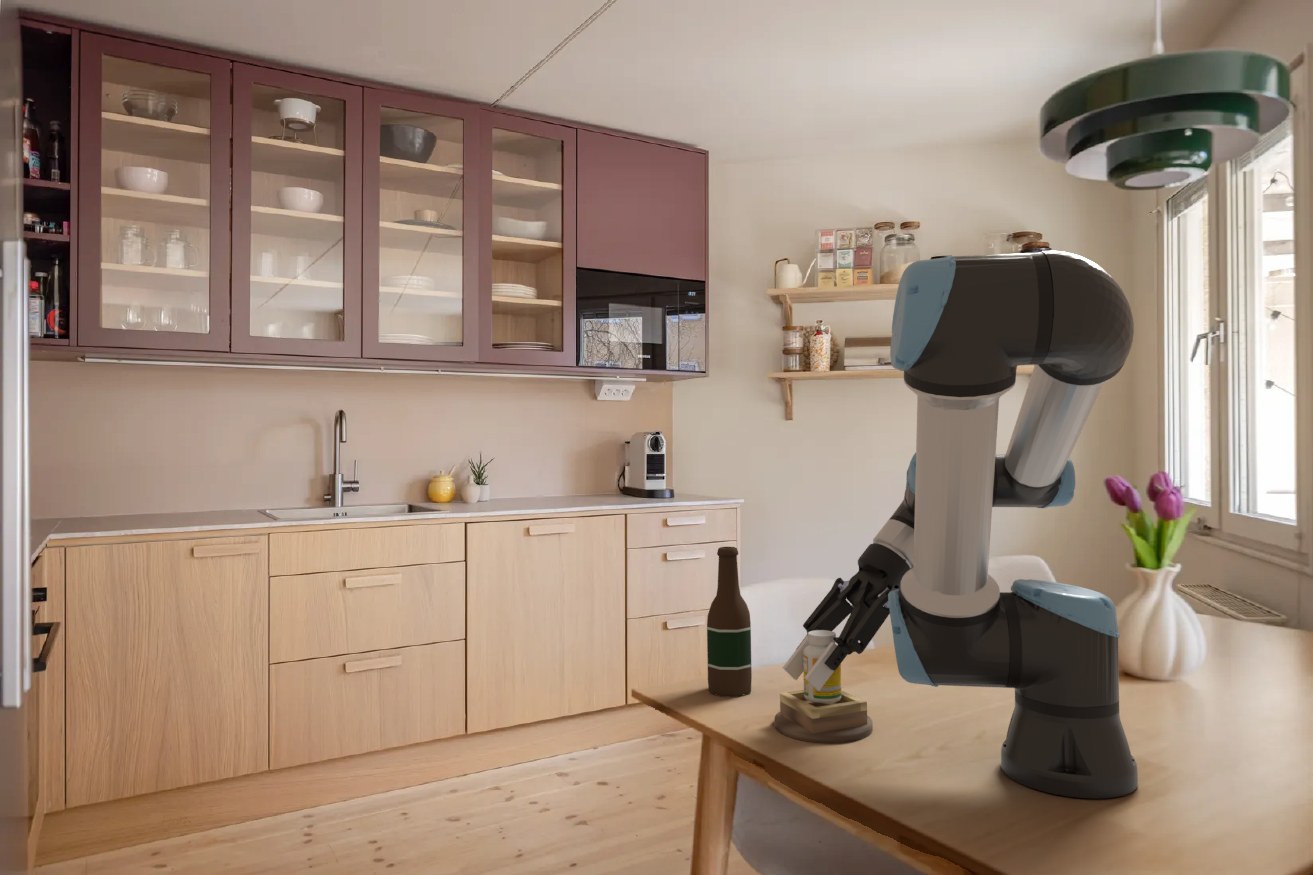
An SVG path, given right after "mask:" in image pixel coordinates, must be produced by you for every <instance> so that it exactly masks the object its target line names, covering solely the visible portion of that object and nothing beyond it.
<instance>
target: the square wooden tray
mask: <svg viewBox="0 0 1313 875" xmlns="http://www.w3.org/2000/svg"><path fill="white" fill-rule="evenodd" d="M779 706H780V707H779V712H777V713H775V715H774V728H775V729H776V731H777V732H779V733H780V734H782V735H783V736H786V737H788V738H792V739H795V740H799V741H804V742H809V743H817V744H819V743H820V744H840V743H841V744H843V743H849V742H857V741H858V740H861V739H864V738H865V739H866V738H867V737H869V736H870V735H871V734H872V733H873V728H874V726H873V719H872V718H871V717H870V716H869V715H868V701H866V700H864V699H861V698H859V697H858V696H857V697H856V695H853V694H850V693H848V692H846V691H843V690H842V689H841V699H840V700H839V701H837V702H835V703H815V702H810V701H808V700H807V699H805V697H804V689H802V690H794V691H793V690H792V691H787V692H780V693H779Z"/></svg>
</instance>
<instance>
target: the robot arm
mask: <svg viewBox="0 0 1313 875" xmlns="http://www.w3.org/2000/svg"><path fill="white" fill-rule="evenodd" d="M1126 296H1127V295H1126V294H1125V293H1124V291H1123V289H1122V288H1121V286H1120V285H1119V283H1118V282H1117V281H1116V280H1115V279H1114V278H1113V276H1112V275H1111V274H1109V273H1108V272H1107V271H1106V270H1105V269H1103V268H1102V266H1100V265H1099V264H1097V263H1095V262H1094V261H1092V260H1090V259H1088V258H1086V257H1083V256H1081V255H1078V254H1076V253H1075V254H1074V253H1071V252H1066V251H1059V250H1042V251H1041V250H1040V251H1038V252H1024V253H1022V252H1021V253H1020V252H1019V253H999V254H978V255H975V254H974V255H956V256H953V255H952V254H951V255H947V256H945V257H940V258H939V257H938V258H932V259H922V260H915V261H913V262H912V263H910V264H909V265H908V266H906V268H905V269H904V270H903V272H902V274H901V277H900V279H899V283H898V286H897V291H896V296H895V303H894V306H893V307H894V308H893V314H892V324H891V338H890V348H889V349H890V353H889V355H890V364H891V366H892V368H894V369H896V370H898V371H901V372H903V383H904V385H905V386H906V387H907V388H908V389H909V390H910V391H912V393H914V394H915V395H916V396H917V398H916V400H917V404H916V405H917V407H916V410H917V411H916V446H915V447H916V448H915V453H914V454H913V455H912V458H911V460H910V462H909V466H908V469H907V470H906V485H905V489H904V490H905V491H904V495H903V496H904V497H903V500H902V501H901V503H900V504H899V506H898V507H897V508H896V510H895V511H894V513H893V514H892V515H891V516H890V518H889V519H888V520H887V521H886V522H885V524H884V525H883V526H882V527H881V529H880V530H879V531H878V532H877V534H876V535H875V537H873V539H872V543H869V545H868V546H867V547H866V549H865V550H864V551H863V552H862V554H861V555H860V556H859V557H858V558H857V565H858V572H856V573H855V574H854V575H852V577H850V579H848V580H843V578H842V577H837V579H835V581H834V583H833V584H832V587H831V589H830V590H829V591H828V593H826V595H825V597H824V598H823V599H822V600H821V601H820V603H819V604H818V605H817V606H816V607H815V609H814V610H813V611H812V612H811V614H810V615H809V617H808V618H807V619H806V620H805V622H804V623H803V625H802V627H803V629H804V630H805V631H806V633H807V634H806V635H805V637H804V638H803V639H802V641H801V642H800V643H799V645H798V646H797V647H796V649H795V651H794V652H793V653H792V655H791V656H790V657H789V658H788V660H787V661H786V662H785V664H784V665H782V669H783V670H784V671H785V672H786V673H787V674H788V675H789V676H790V677H791V678H792V679H793V680H795V681H797V680H798V679H800V676H801V675H802V674H804V667H803V652H804V649H805V647H807V646H808V645H810V643H809V642H808V632H810V631H814V630H827V631H832V632H834V630H835V629H836V628H837V627H838V626H839V625H841V623H842V622H843V621H844V620H846V618H847V617H848V616H849V617H848V618H847V621H846V622H845V625H844V626H843V629H842V630H841V633H840V634H839V636H837V637H834V638H833V640H834V641H835V643H833V642H831V643H830V644H829V646H828V647H827V648H826V650H825V651H824V652H823V654H822V655H821V656H820V658H819V659H818V660H817V662H816V663H815V664H814V666H813V667H812V668H811V670H810V671H809V672H808V674H807V675H806V676H805V679H806V680H807V681H808V682H809V683H810V684H811V685H812V686H813V687H814V688H815V689H816V690H818V691H820V689H821V688H822V687H823V685H824V684H825V682H826V681H827V680H828V678H829V677H830V676H831V674H832V673H833V672H834V671H835V670H836V669H837V668H838V667H839V665H840V664H841V665H842V662H843V661H844V660H845V658H846V657H848V655H852V654H853V653H857V654H858V655H860V654H863V652H864V651H865V650H866V648H867V646H868V645H869V644H870V642H871V641H872V639H874V637H875V635H876V634H877V633H878V631H879V629H881V627H882V625H883V624H884V623H885V621H886V620H887V618H888V617H890V624H891V631H892V638H893V646H894V651H895V652H894V653H895V659H896V660H895V661H896V664H897V670H898V673H899V676H900V677H901V678H902V679H903V680H905V682H907V683H910V684H915V685H925V686H926V685H927V686H931V687H935V688H937V687H939V686H946V687H947V686H951V687H976V688H977V687H979V688H980V687H981V688H999V689H1000V688H1001V689H1002V688H1004V689H1014V709H1013V712H1012V715H1011V718H1010V721H1009V724H1008V727H1007V732H1006V737H1005V740H1004V741H1003V742H1002V745H1001V749H1000V761H1001V762H1000V767H1001V770H1002V771H1003V773H1004V774H1005V775H1006V776H1007V777H1009V778H1010V779H1012V780H1013V781H1015V782H1017V783H1019V784H1021V785H1023V786H1025V787H1028V788H1030V789H1031V788H1032V789H1034V790H1037V791H1041V792H1044V793H1048V794H1052V795H1057V796H1064V797H1070V798H1080V799H1081V798H1082V799H1110V798H1111V799H1112V798H1118V797H1124V796H1126V795H1130V794H1131V793H1132V792H1135V790H1136V789H1137V788H1138V786H1139V783H1138V781H1139V780H1138V779H1139V778H1138V763H1137V762H1136V759H1135V757H1134V756H1133V755H1132V753H1131V749H1130V746H1129V742H1128V739H1127V736H1126V733H1125V730H1124V726H1123V723H1122V721H1121V715H1120V683H1119V682H1120V677H1119V676H1120V675H1119V674H1120V671H1119V668H1120V667H1119V638H1120V632H1119V626H1118V615H1117V608H1116V606H1115V603H1114V602H1113V600H1112V599H1111V598H1110V597H1109V596H1107V595H1106V594H1103V593H1102V592H1099V591H1096V590H1092V589H1091V588H1085V587H1081V586H1077V585H1074V584H1073V585H1072V584H1067V583H1062V582H1056V581H1055V582H1054V581H1049V580H1048V581H1047V580H1039V579H1016V580H1014V581H1013V582H1012V585H1011V586H1010V591H1009V592H1005V591H1003V592H1002V591H1001V590H1000V585H999V584H998V583H997V581H996V580H995V579H994V577H992V576H991V575H990V574H989V561H990V545H991V544H990V543H991V530H992V514H993V513H992V512H993V508H1037V509H1047V508H1051V507H1052V508H1053V507H1055V508H1057V507H1065V506H1067V505H1069V504H1071V502H1072V501H1073V499H1074V496H1075V489H1076V470H1075V466H1074V462H1073V460H1072V459H1071V454H1072V452H1073V450H1074V448H1075V446H1076V443H1077V442H1078V439H1079V437H1080V435H1081V433H1082V430H1083V429H1084V426H1085V424H1086V422H1087V420H1088V417H1089V416H1090V414H1091V412H1092V409H1093V407H1094V405H1095V402H1096V401H1097V399H1098V396H1099V395H1100V391H1101V390H1102V388H1103V385H1104V383H1107V382H1109V381H1110V380H1112V379H1113V378H1115V377H1116V376H1117V375H1118V374H1119V373H1120V372H1121V370H1122V368H1123V367H1124V366H1125V363H1126V361H1127V359H1128V356H1129V355H1130V352H1131V349H1132V346H1133V340H1134V334H1135V326H1134V324H1135V323H1134V317H1133V312H1132V308H1131V306H1130V305H1131V304H1130V302H1129V300H1128V299H1127V297H1126ZM1032 365H1033V369H1032V372H1031V375H1030V379H1029V382H1028V384H1027V388H1026V390H1025V393H1024V397H1023V400H1022V403H1021V405H1020V409H1019V412H1018V416H1017V418H1016V421H1015V424H1014V428H1013V431H1012V434H1011V436H1010V437H1011V438H1010V439H1009V443H1008V446H1007V450H1006V453H1004V454H996V453H997V437H998V419H999V408H1000V407H999V404H1000V398H1001V397H1002V396H1003V395H1005V394H1007V392H1010V390H1012V389H1013V388H1014V386H1015V385H1016V382H1017V381H1016V380H1017V368H1018V366H1032Z"/></svg>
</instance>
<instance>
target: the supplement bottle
mask: <svg viewBox="0 0 1313 875" xmlns="http://www.w3.org/2000/svg"><path fill="white" fill-rule="evenodd" d="M836 636H837V634H836V632H835V631H827V630H814V631H810V632H808V642H809V643H810V645H808V646H807V647H805V649H804V652H803V667H804V671H803V690H804V697H805V699H807V700H808V701H810V702H815V703H835V702H837V701H839V700H840V699H841V690H842V663H841V664H840V665H839V667H838V668H837V669H836V670H835V671H834V672H833V673H832V674H831V676H830V677H829V678H828V680H827V681H826V682H825V684H824V685H823V687H822V688H821V689H820V691H818V690H816V689H815V688H814V687H813V686H812V685H811V684H810V683H809V682H808V681H807V680H806V679H805V676H806V675H807V674H808V672H809V671H810V670H811V668H812V667H813V666H814V664H815V663H816V662H817V660H818V659H819V658H820V656H821V655H822V654H823V652H824V651H825V650H826V648H827V647H828V646H829V644H830V643H831V642H833V643H835V644H836V642H835V641H834V640H833V638H834V637H836Z"/></svg>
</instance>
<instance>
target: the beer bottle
mask: <svg viewBox="0 0 1313 875" xmlns="http://www.w3.org/2000/svg"><path fill="white" fill-rule="evenodd" d="M738 550H739V549H738V548H737V547H735V546H720V547H718V549H717V553H716V556H718V568H717V569H718V570H717V589H716V596H715V597H714V598H713V600H712V602H711V605H710V607H709V609H708V610H709V611H708V614H707V621H706V622H707V623H706V638H707V639H706V642H707V644H706V646H707V649H706V650H707V651H706V652H707V654H706V655H707V684H708V685H707V687H708V692H709V694H712V695H715V694H717V695H716V696H718V695H719V697H721V696H739V697H741V696H740V695H743V694H747V695H749V694H748V693H750V694H751V692H752V675H753V674H752V673H753V672H752V633H751V632H752V628H751V626H752V624H751V613H750V610H749V608H748V605H747V602H746V601H745V600H744V598H743V597H742V595H741V589H740V584H739V582H740V581H739V570H738V555H739V551H738ZM743 696H744V695H743Z"/></svg>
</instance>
